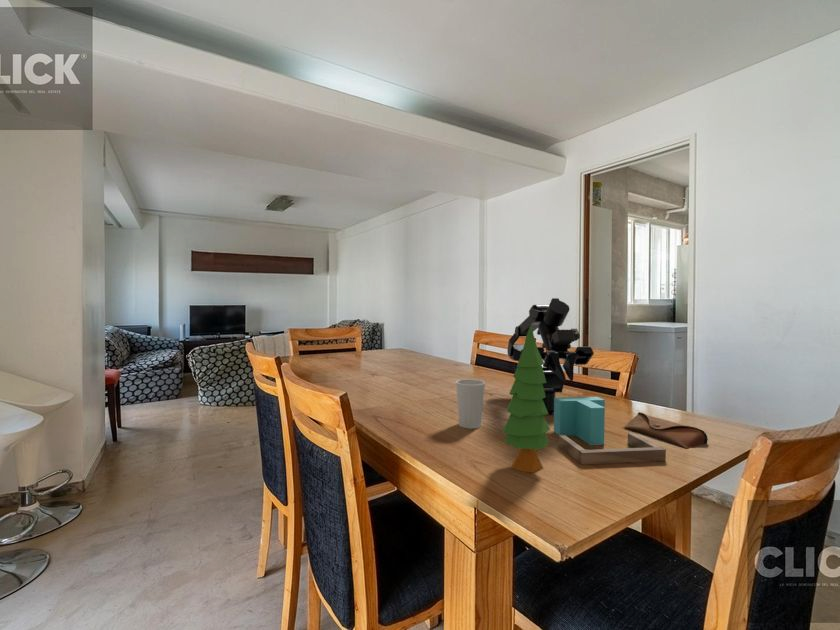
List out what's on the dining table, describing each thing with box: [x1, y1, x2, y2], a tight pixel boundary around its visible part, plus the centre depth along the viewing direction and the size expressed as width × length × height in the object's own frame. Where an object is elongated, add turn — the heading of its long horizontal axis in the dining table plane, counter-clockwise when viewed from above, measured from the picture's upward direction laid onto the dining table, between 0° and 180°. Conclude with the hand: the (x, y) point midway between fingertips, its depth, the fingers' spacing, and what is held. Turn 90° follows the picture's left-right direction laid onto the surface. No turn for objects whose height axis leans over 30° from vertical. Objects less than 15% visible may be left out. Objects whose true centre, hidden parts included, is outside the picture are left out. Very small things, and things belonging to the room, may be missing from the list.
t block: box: [553, 396, 606, 446], centre depth 100 cm, size 10×12×9 cm
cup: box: [455, 378, 486, 430], centre depth 109 cm, size 8×8×12 cm
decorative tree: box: [502, 324, 551, 473], centre depth 82 cm, size 10×9×30 cm
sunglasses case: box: [621, 411, 708, 449], centre depth 102 cm, size 18×7×7 cm, turn 28°
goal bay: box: [558, 432, 667, 466], centre depth 90 cm, size 11×19×2 cm, turn 96°
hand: (568, 380), depth 109 cm, fingers closed
